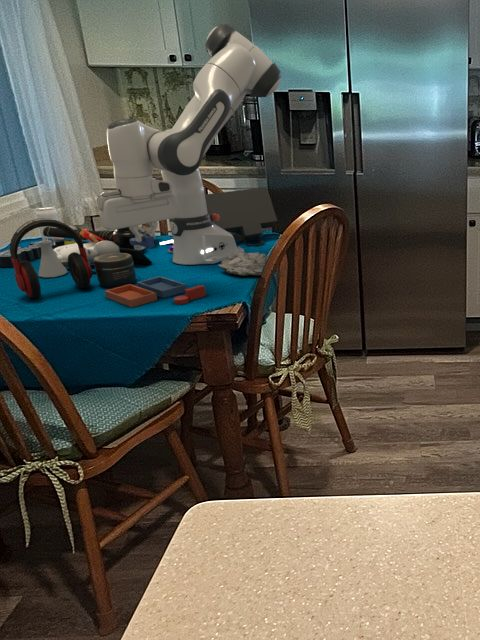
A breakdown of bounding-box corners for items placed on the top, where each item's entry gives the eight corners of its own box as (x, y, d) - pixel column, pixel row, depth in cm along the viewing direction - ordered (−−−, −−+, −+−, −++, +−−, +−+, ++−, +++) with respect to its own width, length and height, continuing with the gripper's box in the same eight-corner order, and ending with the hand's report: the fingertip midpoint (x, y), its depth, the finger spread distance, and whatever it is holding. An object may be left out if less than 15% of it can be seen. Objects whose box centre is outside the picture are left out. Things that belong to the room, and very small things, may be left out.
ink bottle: (144, 254, 213) (137, 217, 208) (115, 257, 210) (107, 220, 205) (146, 247, 221) (139, 211, 216) (118, 249, 218) (110, 213, 213)
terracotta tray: (106, 297, 174) (104, 290, 174) (131, 290, 180) (130, 283, 179) (131, 307, 168) (130, 300, 167) (157, 299, 173) (156, 292, 172)
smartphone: (115, 258, 208) (153, 263, 203) (114, 260, 207) (152, 264, 203) (99, 245, 201) (139, 249, 197) (98, 247, 201) (138, 251, 197)
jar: (93, 283, 186) (87, 256, 183) (129, 275, 192) (124, 250, 189) (106, 291, 179) (100, 264, 176) (143, 283, 186) (137, 257, 183)
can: (68, 241, 229) (59, 206, 224) (49, 245, 224) (40, 210, 219) (58, 238, 232) (49, 205, 227) (39, 242, 227) (30, 208, 222)
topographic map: (142, 225, 235) (143, 220, 235) (176, 236, 227) (177, 231, 226) (91, 224, 219) (91, 218, 219) (126, 235, 211) (126, 229, 210)
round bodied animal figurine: (76, 271, 195) (69, 244, 192) (117, 263, 203) (111, 236, 200) (86, 276, 191) (79, 248, 187) (127, 268, 199) (121, 240, 195)
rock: (259, 255, 207) (214, 271, 199) (256, 243, 204) (210, 258, 197) (284, 273, 195) (237, 290, 188) (281, 260, 193) (233, 277, 186)
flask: (55, 279, 189) (46, 245, 185) (33, 277, 191) (24, 243, 186) (72, 271, 196) (64, 239, 192) (52, 270, 197) (43, 237, 193)
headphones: (87, 281, 187) (70, 211, 179) (99, 289, 181) (82, 217, 172) (18, 295, 176) (-4, 221, 168) (28, 304, 170) (6, 228, 161)
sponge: (56, 241, 211) (57, 250, 212) (83, 240, 210) (83, 249, 211) (77, 242, 221) (78, 251, 221) (102, 242, 220) (103, 250, 221)
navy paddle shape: (158, 246, 173) (156, 235, 172) (145, 249, 170) (143, 238, 169) (140, 241, 177) (138, 230, 176) (128, 243, 175) (125, 233, 174)
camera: (186, 212, 230) (199, 255, 230) (194, 195, 216) (208, 241, 216) (255, 203, 243) (267, 243, 243) (266, 186, 229) (280, 229, 229)
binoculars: (110, 257, 210) (107, 243, 208) (57, 268, 198) (53, 253, 197) (95, 251, 216) (92, 237, 214) (43, 262, 205) (39, 247, 203)
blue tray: (138, 289, 181) (136, 282, 180) (161, 282, 186) (160, 276, 185) (163, 298, 174) (162, 291, 173) (187, 291, 179) (186, 284, 178)
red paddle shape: (200, 294, 177) (198, 284, 176) (208, 296, 175) (206, 286, 174) (171, 302, 171) (169, 292, 170) (179, 305, 169) (177, 295, 168)
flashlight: (46, 236, 218) (128, 241, 225) (42, 240, 213) (126, 245, 220) (45, 223, 216) (128, 229, 223) (40, 228, 212) (125, 233, 219)
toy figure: (114, 254, 217) (79, 236, 207) (107, 247, 221) (72, 230, 211) (118, 247, 217) (83, 230, 207) (110, 241, 221) (76, 223, 211)
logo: (47, 237, 220) (72, 239, 218) (49, 247, 221) (74, 249, 219) (-13, 255, 199) (15, 258, 197) (-10, 265, 200) (18, 268, 199)
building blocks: (185, 242, 222) (185, 247, 223) (164, 245, 216) (164, 250, 217) (197, 246, 219) (197, 251, 220) (176, 249, 213) (176, 254, 214)
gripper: (101, 194, 157) (114, 250, 163) (178, 182, 172) (187, 234, 178) (88, 191, 160) (101, 246, 166) (164, 180, 175) (174, 231, 181)
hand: (146, 240), depth 172 cm, fingers closed on navy paddle shape
